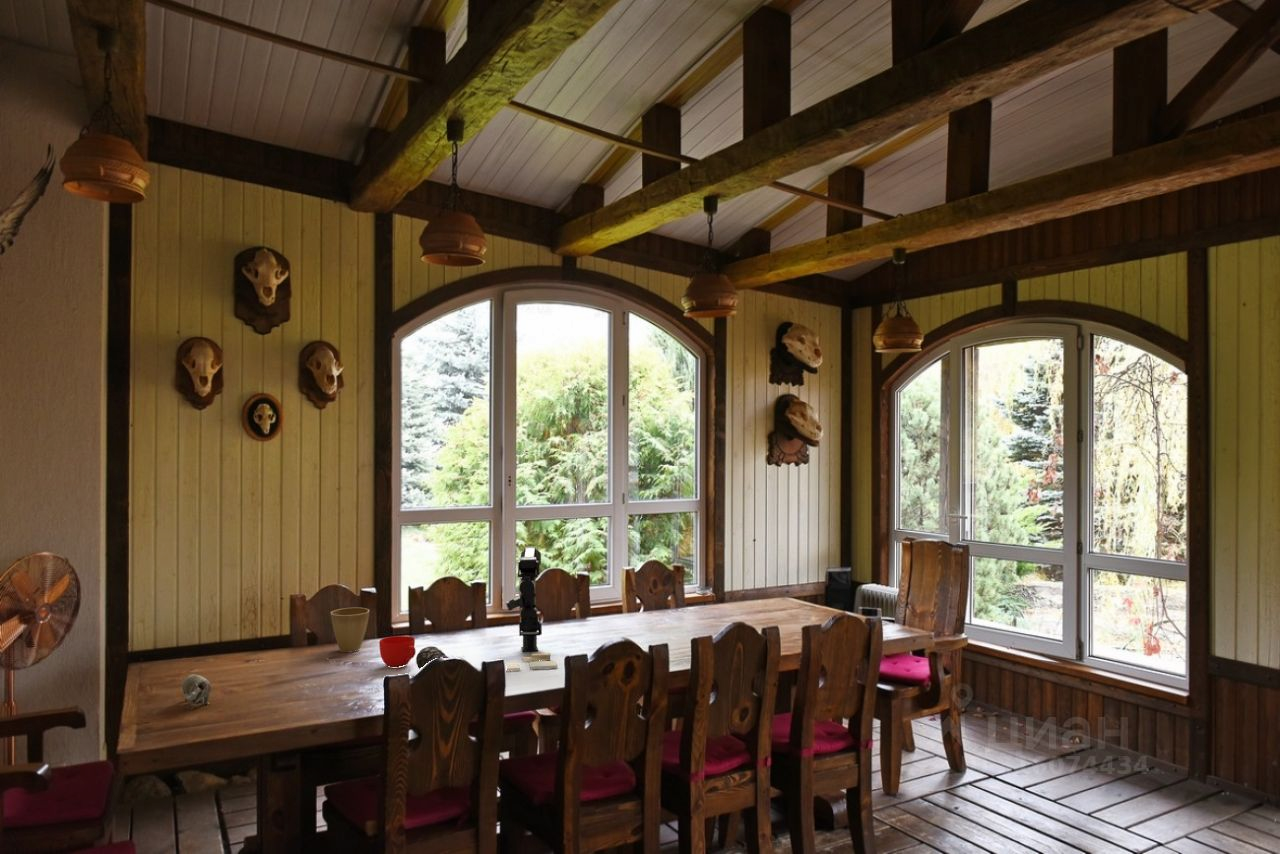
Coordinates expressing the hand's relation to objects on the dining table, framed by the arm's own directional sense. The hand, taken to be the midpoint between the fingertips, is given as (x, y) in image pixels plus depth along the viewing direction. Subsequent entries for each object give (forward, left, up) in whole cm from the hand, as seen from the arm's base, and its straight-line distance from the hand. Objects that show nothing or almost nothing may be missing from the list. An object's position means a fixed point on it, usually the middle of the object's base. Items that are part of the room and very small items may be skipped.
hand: (527, 630), depth 321 cm
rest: (+9, +5, -12) cm, 16 cm away
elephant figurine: (+35, -108, -12) cm, 114 cm away
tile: (+5, -7, -12) cm, 15 cm away
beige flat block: (-1, +3, -12) cm, 13 cm away
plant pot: (-31, -70, -12) cm, 77 cm away
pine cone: (+14, -34, -12) cm, 39 cm away
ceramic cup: (-1, -48, -12) cm, 49 cm away
